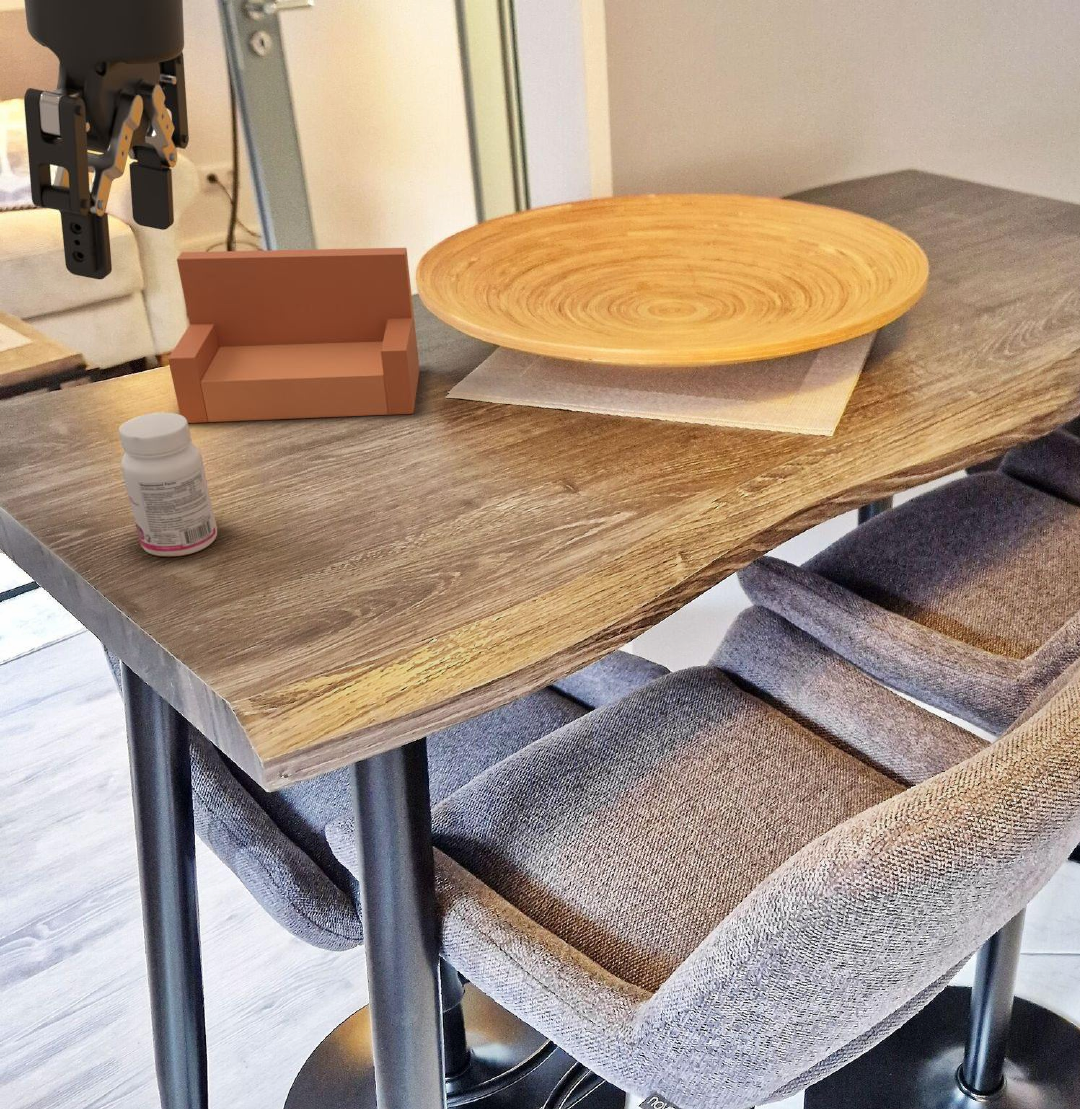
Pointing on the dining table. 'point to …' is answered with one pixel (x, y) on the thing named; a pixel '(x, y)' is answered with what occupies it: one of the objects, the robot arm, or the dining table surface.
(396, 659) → the dining table surface
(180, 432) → the pill bottle
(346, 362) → the couch
